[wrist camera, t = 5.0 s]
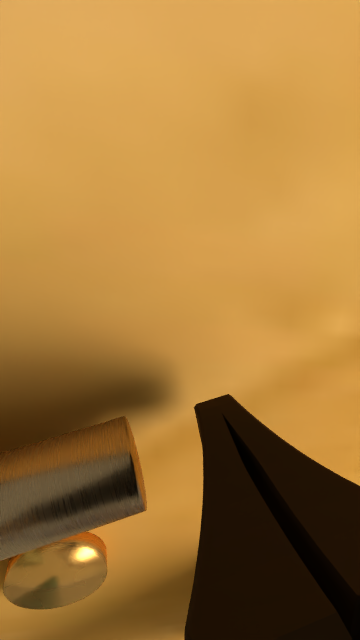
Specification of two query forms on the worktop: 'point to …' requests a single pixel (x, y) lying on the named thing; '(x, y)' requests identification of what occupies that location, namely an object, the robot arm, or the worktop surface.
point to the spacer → (57, 572)
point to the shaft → (68, 486)
